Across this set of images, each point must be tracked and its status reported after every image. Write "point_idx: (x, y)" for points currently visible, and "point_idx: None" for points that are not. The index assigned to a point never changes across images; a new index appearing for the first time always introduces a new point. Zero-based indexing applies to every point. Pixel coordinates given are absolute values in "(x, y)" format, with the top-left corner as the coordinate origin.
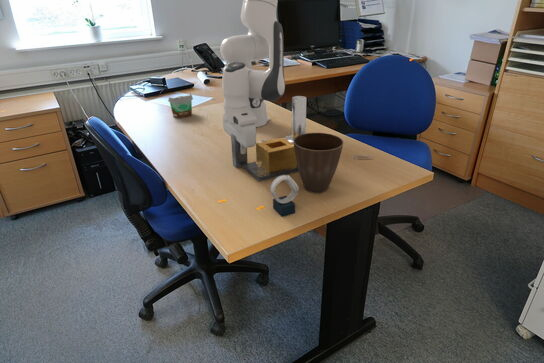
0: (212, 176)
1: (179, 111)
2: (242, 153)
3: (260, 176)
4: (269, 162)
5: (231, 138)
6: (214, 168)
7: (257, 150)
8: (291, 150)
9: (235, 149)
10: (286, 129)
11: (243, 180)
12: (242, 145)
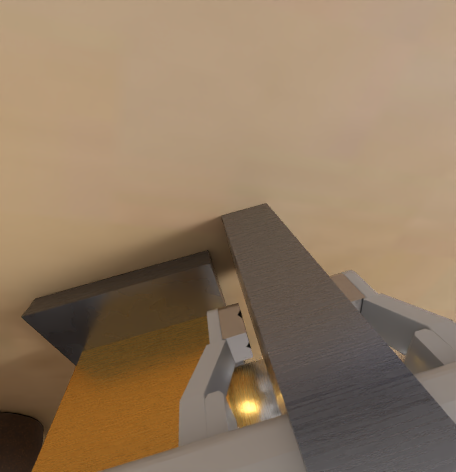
0: (116, 15)
1: None
2: (209, 318)
3: (35, 322)
4: (56, 417)
5: (392, 366)
6: (261, 69)
7: None
8: None
9: (250, 300)
10: None
11: (45, 233)
12: (181, 414)
